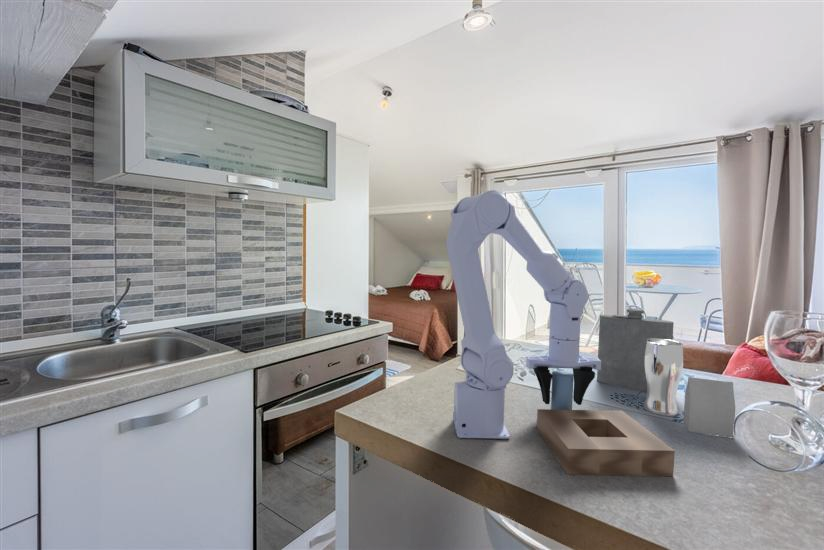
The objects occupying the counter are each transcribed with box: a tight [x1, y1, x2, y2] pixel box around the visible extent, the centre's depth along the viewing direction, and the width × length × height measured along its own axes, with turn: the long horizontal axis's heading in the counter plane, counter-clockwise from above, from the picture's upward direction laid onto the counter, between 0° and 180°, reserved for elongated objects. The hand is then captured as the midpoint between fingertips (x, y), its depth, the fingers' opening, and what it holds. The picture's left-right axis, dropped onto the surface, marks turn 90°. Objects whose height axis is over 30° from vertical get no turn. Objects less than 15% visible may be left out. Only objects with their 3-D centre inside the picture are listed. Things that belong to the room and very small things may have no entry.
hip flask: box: [596, 308, 675, 393], centre depth 93 cm, size 16×4×20 cm, turn 56°
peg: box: [550, 370, 574, 410], centre depth 75 cm, size 4×4×9 cm
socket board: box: [536, 408, 676, 477], centre depth 62 cm, size 16×14×4 cm
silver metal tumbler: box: [643, 338, 684, 417], centre depth 79 cm, size 7×7×15 cm
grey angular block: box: [682, 376, 736, 438], centre depth 70 cm, size 4×7×10 cm, turn 66°
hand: (561, 402), depth 75 cm, fingers open, 6 cm apart
